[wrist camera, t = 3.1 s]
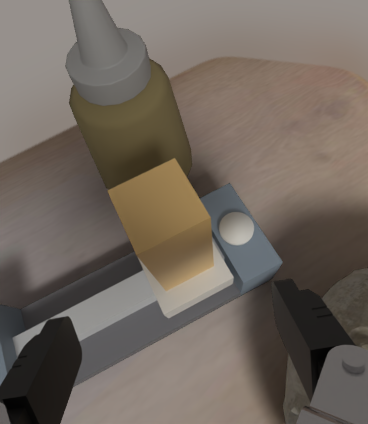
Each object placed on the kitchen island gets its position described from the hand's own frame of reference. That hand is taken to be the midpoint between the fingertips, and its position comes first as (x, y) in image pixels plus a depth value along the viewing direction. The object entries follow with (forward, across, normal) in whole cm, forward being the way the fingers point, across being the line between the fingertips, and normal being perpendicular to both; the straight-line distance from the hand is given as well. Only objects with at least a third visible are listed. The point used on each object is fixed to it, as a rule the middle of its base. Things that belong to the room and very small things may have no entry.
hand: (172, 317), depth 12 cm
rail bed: (+12, +5, +7) cm, 15 cm away
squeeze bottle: (+20, +2, -1) cm, 20 cm away
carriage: (+11, 0, +5) cm, 12 cm away
